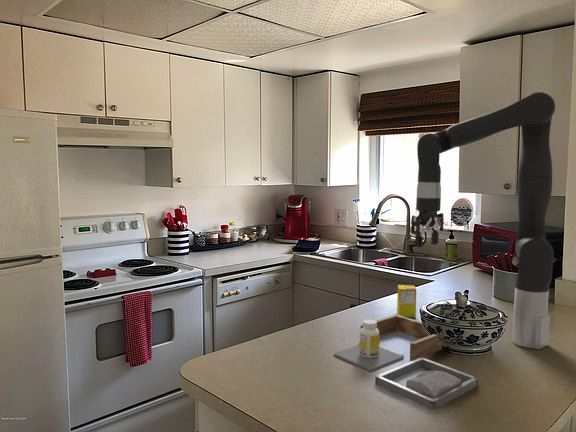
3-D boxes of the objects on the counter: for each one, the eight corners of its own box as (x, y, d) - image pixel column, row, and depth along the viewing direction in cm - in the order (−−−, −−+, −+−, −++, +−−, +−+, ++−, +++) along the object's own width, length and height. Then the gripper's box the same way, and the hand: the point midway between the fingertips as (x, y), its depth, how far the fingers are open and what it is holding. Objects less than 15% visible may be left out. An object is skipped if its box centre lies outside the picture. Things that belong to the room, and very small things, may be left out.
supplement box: (413, 314, 180) (414, 284, 179) (415, 319, 175) (416, 289, 173) (396, 313, 181) (397, 284, 180) (398, 318, 175) (399, 288, 174)
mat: (403, 358, 141) (403, 356, 141) (370, 371, 132) (370, 369, 132) (366, 343, 151) (366, 342, 151) (333, 355, 143) (333, 353, 143)
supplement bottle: (380, 352, 143) (381, 319, 142) (377, 359, 138) (378, 325, 137) (361, 349, 145) (362, 317, 144) (358, 357, 140) (358, 323, 139)
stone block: (402, 398, 121) (437, 406, 113) (400, 378, 121) (435, 385, 114) (431, 386, 129) (465, 392, 121) (428, 367, 129) (463, 373, 121)
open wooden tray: (448, 346, 149) (449, 330, 149) (413, 361, 139) (413, 344, 138) (395, 328, 165) (396, 314, 164) (360, 340, 154) (360, 325, 153)
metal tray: (477, 385, 124) (478, 378, 123) (432, 410, 112) (433, 401, 112) (421, 364, 137) (421, 357, 137) (375, 383, 125) (375, 376, 125)
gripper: (425, 198, 152) (423, 249, 154) (451, 195, 161) (449, 244, 163) (405, 196, 158) (403, 246, 160) (431, 194, 167) (430, 241, 169)
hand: (426, 245), depth 162 cm, fingers open, 8 cm apart
